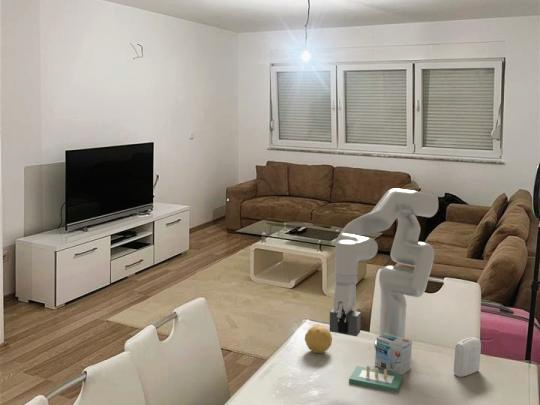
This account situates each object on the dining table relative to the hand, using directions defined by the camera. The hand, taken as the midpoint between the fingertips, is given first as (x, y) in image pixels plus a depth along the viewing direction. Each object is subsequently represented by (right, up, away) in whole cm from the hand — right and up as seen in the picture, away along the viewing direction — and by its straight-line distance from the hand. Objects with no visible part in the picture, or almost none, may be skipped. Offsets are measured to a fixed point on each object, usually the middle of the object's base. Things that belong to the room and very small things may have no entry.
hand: (345, 329), depth 190 cm
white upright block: (+43, -17, +7) cm, 46 cm away
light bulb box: (+18, -16, +10) cm, 26 cm away
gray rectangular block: (0, -1, 0) cm, 1 cm away
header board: (+10, -17, 0) cm, 20 cm away
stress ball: (-7, -13, +22) cm, 27 cm away
